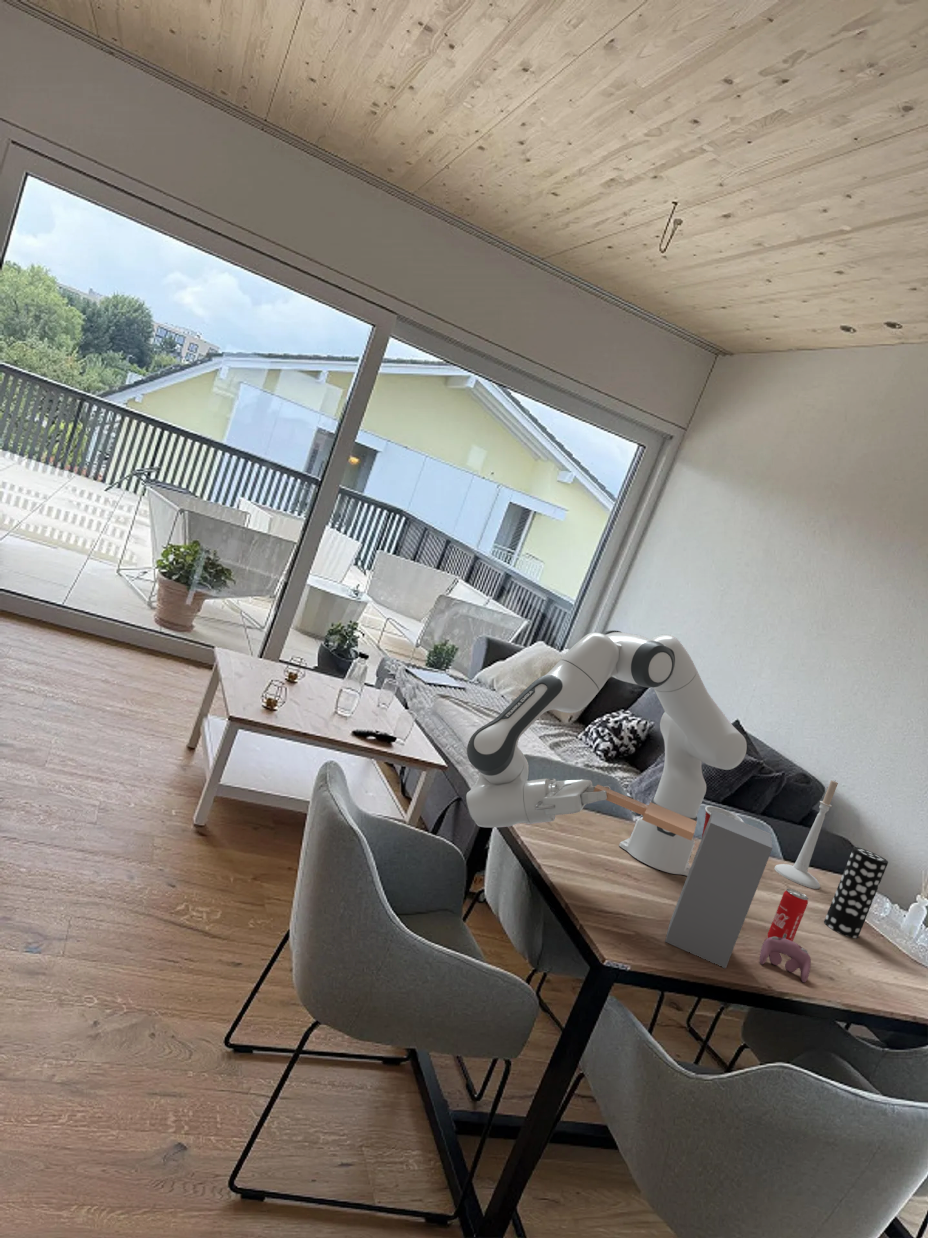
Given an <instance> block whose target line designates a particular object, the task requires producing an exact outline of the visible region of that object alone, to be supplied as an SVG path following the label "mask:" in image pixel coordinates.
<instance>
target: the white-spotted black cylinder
mask: <svg viewBox="0 0 928 1238" xmlns="http://www.w3.org/2000/svg"><path fill="white" fill-rule="evenodd" d="M888 864H889V861H888V860H887V859H885V858H884V857H882V856H881V855H879V854H876V853H875V852H873V851H869V850H867V849H865V848H861V847H859V846H854V847H853V848H852V850H851V853H850V855H849V858H848V860H847V863H846V866H845V868H844V871H843V872H842V876H841V878H840V880H839V883H838V885H837V888H836V890H835V893H834V895H833V898H832V901H831V904H830V906H829V908H828V911H827V913H826V916H825V918H824V921H823V923H824V924H825V925H826V926H827V927H828V928H830V929H831V930H832V931H835V932H836V933H838V934H841V935H843V936H845V937H849V938H851V939H852V938H853V939H858V938H859V937H860V934H861V931H862V929H863V927H864V925H865V921H866V919H867V918H868V914H869V912H870V909H871V907H872V905H873V901H874V899H875V896H876V894H877V892H878V889H879V887H880V884H881V882H882V880H883V876H884V874H885V871H886V869H887V866H888Z"/></svg>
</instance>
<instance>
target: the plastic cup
mask: <svg viewBox="0 0 928 1238" xmlns="http://www.w3.org/2000/svg"><path fill="white" fill-rule="evenodd" d="M704 810H705V815H704V816H705V817H704V824H703V829H702V833H701V837H702V836H703V834H704V831H705V829H706V826H707V823H708V821H709V818H710V816H711V813H712V810H714V811H717V812H719V813H722V814H724V815H726V816H729V817H731V818H734V819H736V820H739V821H741V822H744V823H745V821H744V820H743V819H742V817H740V816H739V815H737V814H736V813H733V812H732V811H729V810H726V809H725V808H720V807H718V806H712V805H711V806H710V805H707V806H705V808H704Z"/></svg>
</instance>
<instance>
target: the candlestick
mask: <svg viewBox="0 0 928 1238" xmlns="http://www.w3.org/2000/svg"><path fill="white" fill-rule="evenodd" d="M838 784H839V783H838V781H836V780H830V782H829V785H828V787H827V789H826V793H825V795H824V797H823V800H819V803H820V804H819V812H818V813H817V814H816V817H815V820H814V822H813V823H812V826H811V827H810V830H809V833H808V835H807V837H806V839H805V841H804V843H803V846H802V848H801V850H800V852H799V854H798V856H797V858H796V861H795V863H793V865H792V864H787V863H780V864H779V863H778V864H775V866H774V871H776V873H777V874H779V875H780V876H781V877H783V878H785V879H787V880H789V881H791V882H793V883H795V884H798V885H800V886H802V887H805V888H809V889H814V890H819V889H820V888H821V884H820V882H819V880H818V879H817V878H816V877H815V876H813V875H812V874H811V873H810V872H809V871H808V869H809V866H810V863H811V859H812V857H813V854H814V850H815V848H816V846H817V845H816V844H817V841H818V838H819V835H820V833H821V830H822V826H823V823H824V820H825V818H826V813H827V812H829V810H830V808H832V807H833V805H831V802H832V800H833V798H834V794H835V792H836V789H837V787H838Z"/></svg>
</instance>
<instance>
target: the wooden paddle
mask: <svg viewBox="0 0 928 1238" xmlns="http://www.w3.org/2000/svg"><path fill="white" fill-rule="evenodd" d="M595 786H596V787H595V789H594V791H593V792H597V791H602V790H605V791H607V796H608V797H607V799H606V800H605V801H607V802H610V803H613V804H615V805H617V806H620V807H622V808H624V809H626V810H629V811H631V812H634V813H636V814H639V815H641V816H642V817H643V819H642V820H644V821H646V822H648V823H651V824H653V825H655V826H658V827H660V828H662V829H665V830H667V831H670V832H672V833H674V834H677V835H679V836H681V837H684V838H686V839H688V840H692V838H693V839H694V835H695V833H696V832H695V831H696V828H697V824H698V820H697V821H695V820H692V819H690V818H688V817H685V816H683V815H680V814H678V813H676V812H673V811H671V810H668V809H666V808H664V807H661V806H659V805H656V804H654V803H652V802H651V801H650V802H649V804H646V803H644V802H641V801H639V800H637V799H634V798H632V797H630V796H627V795H625V794H622V793H620V792H617V791H615V790H612V789H611V790H610V789H608V788H606V787H603V785H601V784H596V785H595Z"/></svg>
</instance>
